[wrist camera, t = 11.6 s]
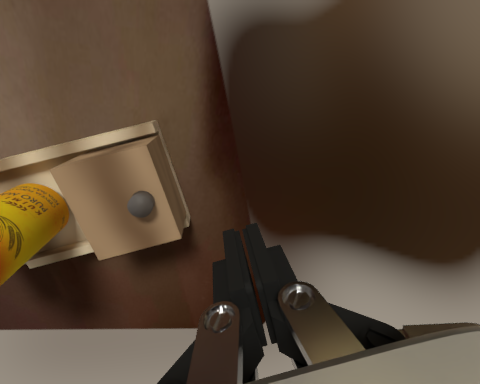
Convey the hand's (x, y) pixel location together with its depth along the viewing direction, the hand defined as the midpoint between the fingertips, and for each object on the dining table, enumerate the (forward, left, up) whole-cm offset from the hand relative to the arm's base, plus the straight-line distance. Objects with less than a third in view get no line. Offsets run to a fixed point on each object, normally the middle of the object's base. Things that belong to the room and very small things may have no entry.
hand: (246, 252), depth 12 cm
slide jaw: (-10, 0, -17) cm, 20 cm away
